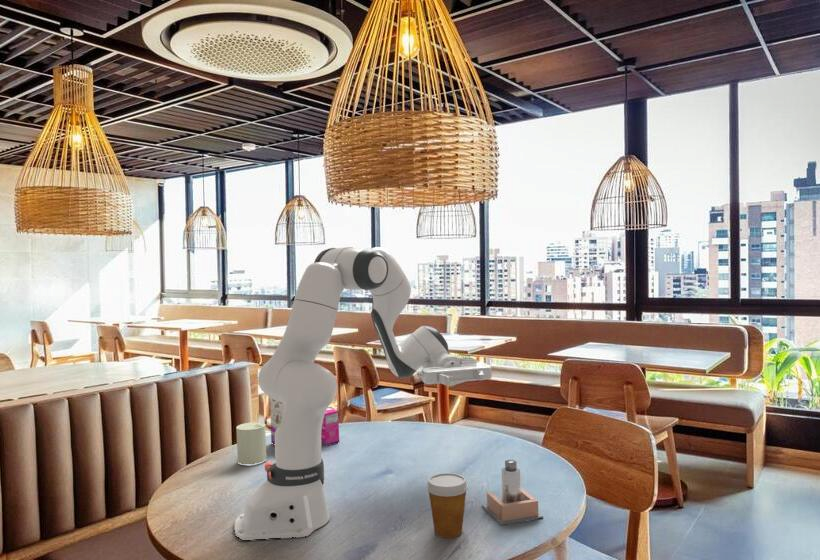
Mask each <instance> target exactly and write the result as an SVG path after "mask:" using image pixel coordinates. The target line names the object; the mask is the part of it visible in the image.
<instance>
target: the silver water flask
mask: <svg viewBox="0 0 820 560" xmlns="http://www.w3.org/2000/svg"><path fill="white" fill-rule="evenodd" d="M521 488H522V487H521V469H520V468H519V467H518V466H517V460H514V459H506V460H505V461H504V467H502V468H501V501H502V502H503V503H504V504H506V503H512V502H519V501H521Z"/></svg>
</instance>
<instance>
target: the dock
mask: <svg viewBox="0 0 820 560" xmlns="http://www.w3.org/2000/svg"><path fill="white" fill-rule="evenodd" d="M520 488H521V501H519V502H512V503H506V504H504V503H503V502H502V499H501V498H499V497H498V496H497V495H495V493H494V492H493V491H489V492H486V502H487V503H484V504H482V505H481V507H482V508H483V509H484V510H485V511H486V513H488V514H489V515H490V516H491V517H492V518H493V519H494V520H495V521H496V522H497V523H498V524H499V525H500V526H505V525H511V524H517V523H522V521H524V522H528V521H527V520H530V521H534V520H533V519H536V520H539V519H538V518H542V519H544V515H542V514H541V513H540V512H539V500H538V499H536V498H535V497H534V496H532V495H531V494H530V493H529V492H527V491H526V490H525V489H524V488H523V487H520Z"/></svg>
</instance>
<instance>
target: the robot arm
mask: <svg viewBox="0 0 820 560" xmlns="http://www.w3.org/2000/svg"><path fill="white" fill-rule="evenodd" d="M296 289H297V290H296V292H295V295H294V300H293V303H292V307H291V310H290V313H289V318H288V321H287V325H286V328H285V331H284V334H283V336H282V337H281V340H280V342H279V343H278V345H277V348H276V349H275V350H274V352H273V354H272V356H271V358H269V360H268V361H267V362H265V363H264V364H263V365H262V367H261V368H260V370H259V372H258V377H257V380H258V387H259V388H260V390H261V391H262V392H263V393H264V395H266V396H267V397H268V398H269V399H270V398H271V399H273V400H275V401H278V402H281V403H283V404H284V414H283V418H282V422H281V425H280V426H279V427H278V428H277V429H276V431H275V445H274V456H275V458H274V461H275V462H274V463H272V462H271V461H266V462H265V463H264V470H265V472H266V479H267V480H265V482H263V484H261V485H260V486H259V487H258V488H257V489H255V490H254V491H253V492H251V493H250V494H249V495H248V498H247V499H246V502H245V505H244V508H243V509H244V510H243V513H241V514H240V515H238V517H237V518H236V519H235V521H234V528H233V531H234V530H235V532H234V535H235V534H236V535H237V537H239V538H240V539H242V540H250V539H266V540H268V539H267V538H281V539H291V538H292V537H294V538H295V537H296V538H305V536H306V537H308V536H309V535H311V534H312V533H313V532H314V531H315V530H317V529H320V528H321V527H323V526H325V525H326V524H327V523H328V522H329V521H330V519H331V514H330V511H329V508H328V505H327V501H326V495H325V486H324V484H325V464H324V460H323V458H322V444H321V429H322V423H323V418H324V415H325V411H326V409H327V408H329V406H330V405H331V404H332V403H333V402H334V400H335V399H336V396H337V392H338V381H337V379H336V376H335V375H334V373H333V372H331V371H330V370H329V369H327V368H326V367H324V366H322V365H321V364H318V363H315V360H316V359H317V357H318V355H319V353H320V352H321V350H322V349H323V348H324V347H325V346H326V345H328V344H329V342H330V341H331V339H332V335H333V330H334V326H335V323H336V322H335V321H336V318H337V316H338V315H337V313H338V311H339V306H340V305H339V304H340V301H341V300H340V299H341V294H342V293H343V291H344V289H346V290H348V291H349V290H351V291H352V290H353V291H357V290H358V291H361V290H363V291H369V292H370V294H371V297H372V302H373V304H372V309H371V312H370V315H371V316H370V317H371V320H372V324H373V326H374V330H375V333H376V335H377V337H378V340H379V342H380V344H381V348H382V350H383V353H384V356H385V361H386V362H387V364H386V365H387V366H388V369H389V370H390V371H391V373H392V374H393V375H394V376H395V377H396V378H400V379H410V378H412V376H413V375H414V374H415V373H416V374H417V376H418V377H420V378H421V381H422V382H423V383H424V384H425V385H438V384H439V385H440V384H442V385H444V386H446V387H453V386H456V385H458V384H459V385H460V384H463V383H465V382H470V381H471V382H472V381H485V380H491V379H492V378H493V377H492V375H493V369H492V366H491V365H489V364H488V363H486V362H483V361H479V360H478V359H477V358H476V357H466V356H465V357H463V356H462V357H461V356H457V355H452V354H449V344H448V342H447V341H446V339H445V337H444V336H443V335H442V334H441V333H440V331H438V330H437V329H436V328H434V327H433V326H430V325H429V326H428V325H421V326H420V327H418V328H416V330H415V331H413V332H412V333H411V334H410V335H409V336H407V337H406V338H405V339H404V340H402V341H401V342H400V343H398V341H397V340H396V337H395V334H394V329H393V328H394V325H395V323H396V321H397V319H398V318H399V316H400V314H401V313H402V312H403V310H404V309H405V308H406V306H407V304H408V303H409V301H410V298H411V293H412V288H411V284H410V282H409V279H408V277H407V275H406V274H405V272H404V271H403V269H402V267H401V265H400V264H399V263H398V261H397V260H396V258H395V257H394V256H393V255H392V254H391V253H390V251H388V250H387V249H386V248H384V247H383V246H382V247H381V246H375V247H371V248H360V247H359V248H357V247H349V246H347V247H345V246H344V247H337V248H336V247H330V248H327V249H323V250H322V251H321V252H320V253H318V255H317V256H316V257H315V259H314V262H313V263H310V264H309V265H308V266H307V267H306V269H305V271H304V272H303V274H302V277H301V278H300V280H299V283H298V286H297V288H296ZM421 367H422V369H421ZM419 369H421V371H418V370H419ZM236 535H235V536H236ZM237 537H236V538H237ZM296 538H295V539H296ZM240 539H239V540H240ZM292 539H293V538H292ZM242 540H241V541H242Z"/></svg>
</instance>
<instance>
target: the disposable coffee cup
mask: <svg viewBox="0 0 820 560" xmlns="http://www.w3.org/2000/svg"><path fill="white" fill-rule="evenodd" d="M468 488H469V485H468V482H467V479H466V477H465V476H463V475H461V474H459V473H453V472H443V473H437V474H433V475H431V476H430V477H428V479H427V483H426V490H427V491H428V495H429V502H430V509H431V516H432V522H433V530H434V534H436V536H438V537H441V538H447V539H452V538H456V537H459V536H460V535H462V534H463V528H464V527H463V524H464V515H465V505H466V497H467V496H466V495H467V491H468V490H467V489H468Z"/></svg>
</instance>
